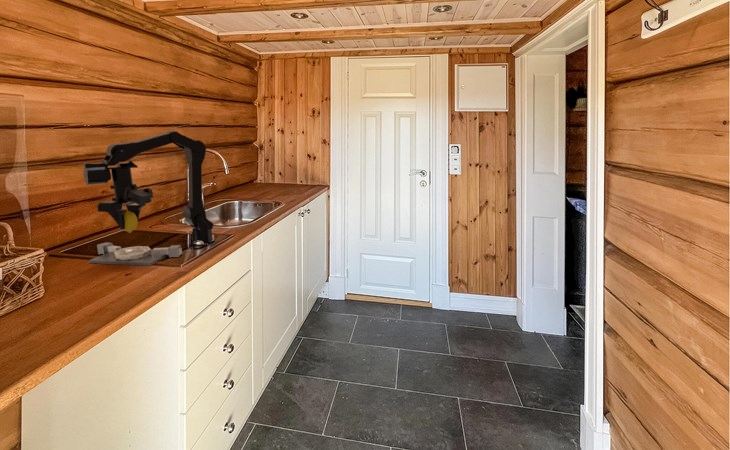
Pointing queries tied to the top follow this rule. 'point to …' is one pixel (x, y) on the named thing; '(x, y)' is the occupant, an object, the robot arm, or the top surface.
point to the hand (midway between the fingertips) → (129, 227)
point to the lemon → (130, 221)
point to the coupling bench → (127, 262)
